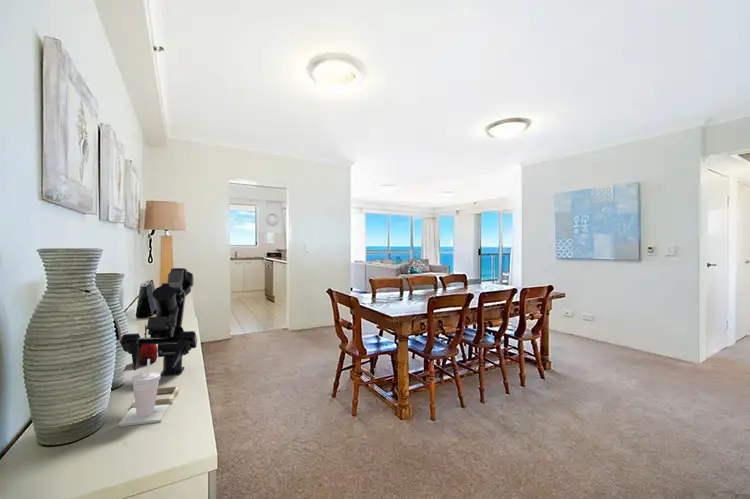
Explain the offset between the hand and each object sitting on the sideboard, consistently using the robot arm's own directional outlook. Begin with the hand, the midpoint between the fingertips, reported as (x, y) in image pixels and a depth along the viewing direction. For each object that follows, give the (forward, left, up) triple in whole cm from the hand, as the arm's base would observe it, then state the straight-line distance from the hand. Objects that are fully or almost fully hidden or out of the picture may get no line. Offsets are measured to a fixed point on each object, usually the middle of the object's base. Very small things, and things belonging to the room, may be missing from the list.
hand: (153, 368), depth 96 cm
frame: (-5, 0, -10) cm, 11 cm away
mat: (+6, 0, -10) cm, 12 cm away
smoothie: (+6, 0, -10) cm, 12 cm away
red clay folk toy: (-42, -13, -10) cm, 45 cm away
